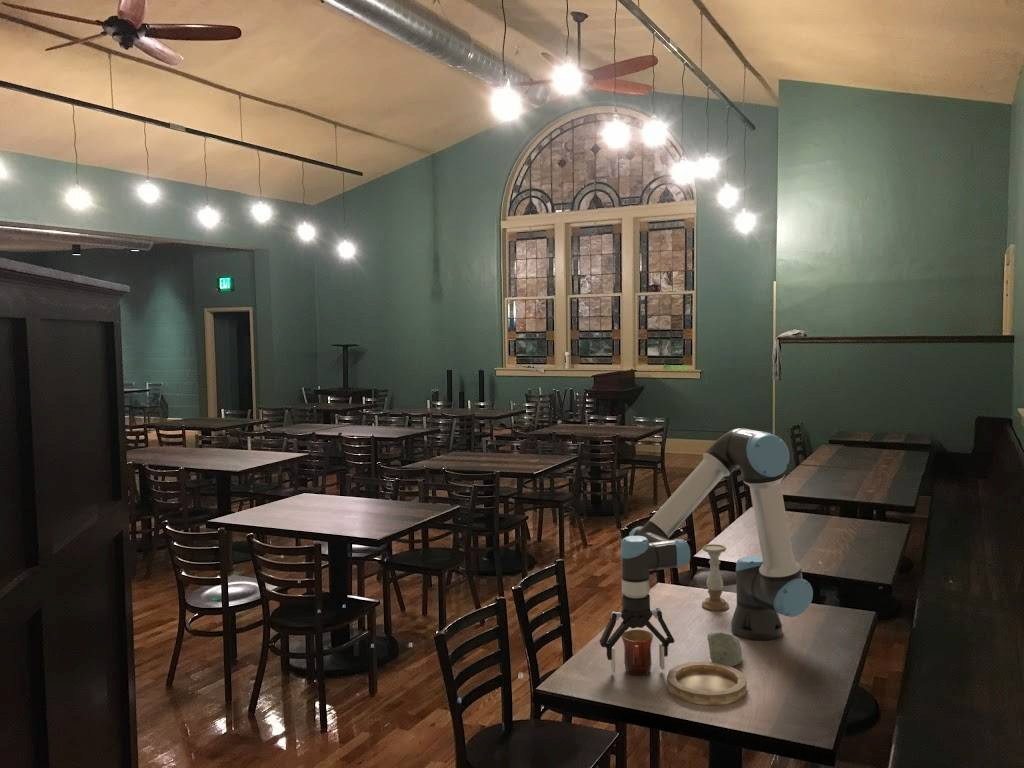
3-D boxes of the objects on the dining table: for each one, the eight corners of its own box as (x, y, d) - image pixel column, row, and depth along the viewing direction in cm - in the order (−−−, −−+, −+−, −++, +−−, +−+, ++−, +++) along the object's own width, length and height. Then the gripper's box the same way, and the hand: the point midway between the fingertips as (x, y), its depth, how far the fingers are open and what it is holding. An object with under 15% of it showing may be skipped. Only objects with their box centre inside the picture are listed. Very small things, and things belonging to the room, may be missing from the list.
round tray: (732, 669, 230) (731, 659, 230) (757, 702, 211) (757, 692, 210) (660, 673, 229) (659, 664, 229) (678, 707, 210) (678, 696, 209)
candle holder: (702, 611, 276) (701, 550, 275) (701, 601, 285) (699, 543, 283) (730, 611, 275) (729, 550, 273) (727, 602, 283) (726, 543, 282)
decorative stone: (731, 675, 227) (748, 642, 229) (695, 654, 232) (711, 622, 234) (735, 680, 238) (751, 648, 240) (700, 660, 243) (716, 629, 245)
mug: (623, 664, 237) (622, 628, 236) (654, 665, 235) (653, 629, 234) (620, 682, 225) (619, 645, 224) (653, 684, 223) (652, 646, 223)
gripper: (677, 586, 233) (679, 660, 234) (588, 591, 231) (590, 666, 233) (684, 595, 225) (686, 672, 227) (592, 600, 224) (594, 677, 226)
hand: (637, 669), depth 230 cm, fingers open, 13 cm apart
